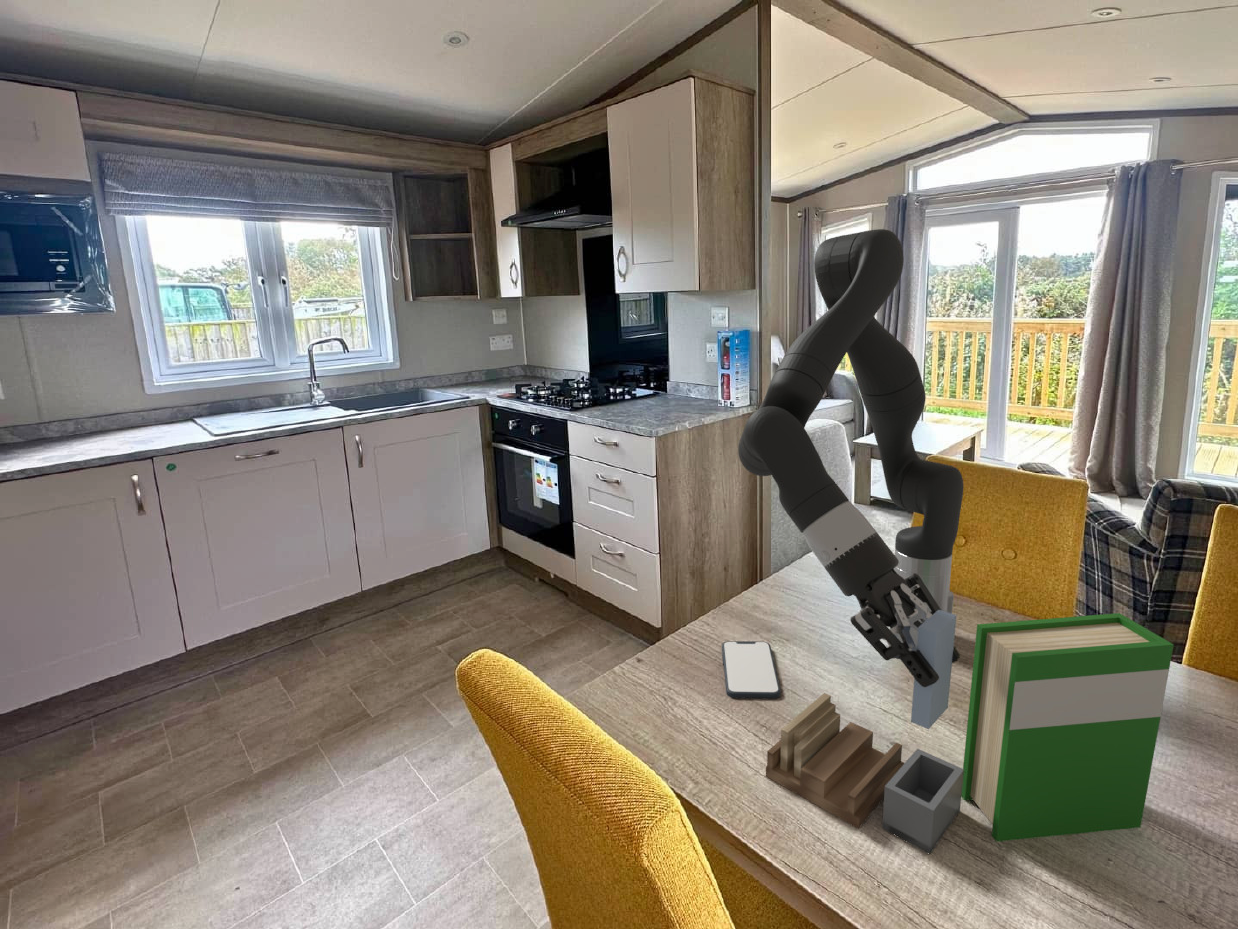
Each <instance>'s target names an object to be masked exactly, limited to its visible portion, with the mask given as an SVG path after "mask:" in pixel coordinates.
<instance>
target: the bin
mask: <svg viewBox="0 0 1238 929" xmlns="http://www.w3.org/2000/svg"><path fill="white" fill-rule="evenodd" d="M963 775H964V769H963V767H960V766H957V765H956V764H953V763H951V762H950V761H949V762H948V761H946V760H944V759H942V758H940V757H937V756H936V755H932V754H931V753H928V752H926V751H924V750H922V749H919V748H916V750H915V751H914V752H913V753H912V754H911V755H910V756H909V758H908V759H907V760H906V761H905V762H904V765H903V766H902V767H901V768H900V769H899V770H898V772H897V773H896V774H895V775H894V776H893V777H892V779H891V780H890V781H889V782H888V783H887V784H886V785H885V792H884V799H883V809H882V811H883V812H882V825H881V826H882V827H881V828H883V829H882V830H885V831H887V832H888V833H890V834H892V835H893V834H895V835H896V836H895V835H894V836H895V837H897V836H898V837H897V838H898V839H901V840H902V841H904V840H905V841H904V842H906V841H907V842H906V843H908V844H909V845H912V846H913V847H915V848H917V849H919V850H920V851H923V852H924V853H926V854H928V853H929V854H928V855H931V853H932V852H933V850H934V849H935V847H936V846H937V845H938V843H939V841H941V839H942V837H943V836H944V834H945V833H946V831H947V830H948V829H949V827H950V826H951V824H952V823H953V821H955V819H956V817H957V816H958V814H959V813H960V812H961V804H962V797H961V795H962V785H963Z"/></svg>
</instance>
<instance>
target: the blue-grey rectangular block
mask: <svg viewBox="0 0 1238 929" xmlns="http://www.w3.org/2000/svg"><path fill="white" fill-rule="evenodd" d="M956 624H957V614H953V613H952V614H951V613H947V612H944V611H941V610H938V611H937V612H935V613H934V614H933V615H932V616H931V617H930V618H928V619H927V620H926V621H925V622H924V623H923V624H922V625H920V626H919V627H918V638H917V650H918V649H919V651H920V652H921V653H922V655H923V656H924V657H925V659H926V660H927V661H928V663H929V664H930V665H931V667H932V668H933V669H934V670H935V671H936V673H937V674H938V676H939V680H938V681H937V682H936V683H934V684H932V685H930V686H927V687H922V686H921V685H920V684H919V683H918V682H917V681H916V680H915V678H914V677H913V679H914V680H913V692H912V701H911V702H912V703H911V704H912V706H911V717H910V723H912V724H914V725H917V726H920V727H922V728H924V729H926V730H930V729H931V727H932V726H933V725H934V724H935V723H936V722H937V721H938V720H939V718H940V717H941V716H942V715H944V712H945V711H946V710H947V709H948V708H949V699H950V691H951V679H952V668H953V667H952V666H953V663H952V656H953V648H954V647H955V636H956Z"/></svg>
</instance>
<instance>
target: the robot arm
mask: <svg viewBox="0 0 1238 929" xmlns="http://www.w3.org/2000/svg"><path fill="white" fill-rule="evenodd" d="M904 257H905V256H904V250H903V246H902V242H901V241H900V239H899V237H898V235H897V234H895V233H894V232H893V231H891V230H889V229H884V228H881V229H878V228H877V229H870V230H864V231H859V232H855V233H849V234H842V235H838V236H835V237H830V238H827V239H826V240H823V241H822V242H821V243H820V244H819V245H818V247H817V249H816V252H815V256H814V260H813V261H814V263H813V264H814V266H813V268H814V276H815V279H816V283H817V288H818V289H819V292H820V294H821V295H820V296H821V298H822V299H823V302H824V304H825V306H826V307H827V311H825V313H824V314H823V315H821V316H820V317H819V318H818V319H816V320H815V322H813V323H811V325H809V326H808V327H807V328H806V329H805V330H804V331H803V332H802V333H800V334H799V335H798V337H796V339H795V340H794V341H793V342H792V343H791V345H790V346H789V348H788V349H787V351H786V352H785V354H784V356H783V358H782V359H781V361H780V363H779V365H778V367H777V368H776V369H775V370H776V371H775V372H774V374H773V376H772V378H771V380H770V383H769V385H768V387H767V391H766V393H765V396H764V399H763V401H762V402H761V404H760V406H759V407H758V409H756V410H755V411H754V412H752V414H751V415H750V416H749V417H748V419H747V421H746V423H745V425H744V428H743V430H742V433H741V435H740V436H741V437H740V440H739V442H738V445H737V446H738V447H737V449H738V450H737V451H738V457H739V460H740V463H741V464H742V466H743V467H744V468H745V469H746V471H747V472H749V473H751V474H753V475H755V476H759V477H768V476H769V477H770V476H771V477H772V478H773V480H774V481H775V483H776V486H777V487H778V491H779V492H778V496H779V497H778V500H779V502H780V505H781V507H782V508H783V510H784V511H785V513H786V514H787V515H788V516H789V518H790V519H791V521H792V522H793V523H794V525H795V526H796V527H797V529H798V531H799V532H800V533H801V535H802V536H803V537H804V540H806V543H807V544H808V547H809V549H811V551H812V552H813V555H814V556H815V557H816V559H817V560H818V561H819V562H820V564H821V565H822V567H823V568H824V570H826V572H827V573H828V575H829V576H830V578H831V579H832V580H833V581H834V583H835V585H837V586H838V589H839V590H840V591H841V593H842V594H843V595H844V596H846V597H852V596H854V597H855V598H856V600H857V602H858V604H859V607H860V610H859V611H858V612H857V613H855V614H854V615H853V616H851V617H850V622H851V625H852V626H853V627H854V628H855V629H857V631H858V632H859V633H860V634H861V636H862V637H863V638H864V639H865V640H866V641H867V643H869V644H870V645H871V647H872V648H873V649H874V650H875V651H876V652H877V653H878V654H879V655H880V656H881V657H882V658H883V659H884V660H885V661H890V660H892V659H896V660H900V661H901V662H902V664H903V665H904V666H905V667H906V669H907V670H908V671H909V673H910V674H911V676H912V677H913V679H914V678H915V680H916V681H917V682H918V683H919V684H920V685H921V686H922V687H927V686H930V685H932V684H934V683H936V682H937V681H938V680H939V676H938V674H937V673H936V671H935V670H934V669H933V668H932V667H931V665H930V664H929V663H928V661H927V660H926V659H925V657H924V656H923V655H922V653H921V652H920V651H919V649H918V650H917V638H918V627H919V626H920V625H922V624H923V623H924V622H925V621H926V620H927V619H928V618H930V617H931V616H932V615H933V614H934V613H935V612H937V611H938V610H941V611H944V612H947V613H951V614H953V605H954V596H955V595H954V592H953V591H951V590H950V585H951V575H952V574H951V571H952V560H953V549H954V545H955V542H956V538H957V536H958V532H959V524H960V517H961V510H962V503H963V495H964V479H963V475H962V473H961V471H960V470H959V469H958V468H957V467H955V466H952V465H948V464H945V463H940V462H935V461H931V460H925V459H922V458H920V457H919V455H918V453H917V452H916V451H917V450H916V448H915V445H914V442H913V441H914V440H913V433H914V430H915V428H916V426H917V424H918V422H919V420H920V418H921V417H922V413H923V412H924V408H925V404H926V398H927V396H926V390H925V386H924V383H923V379H922V377H921V372H920V369H919V365H918V362H917V360H916V359H915V357H914V355H913V354H912V353H911V352H910V351H909V350H908V348H907V347H906V346H905V345H904V344H903V343H902V342H900V341H899V340H898V339H897V338H896V337H895V336H894V335H893V334H892V333H891V332H889V330H887V328H885V327H884V326H883V325H882V324H881V323H880V322H879V321H878V319H877V318H876V317H875V316H876V314H877V313H878V311H879V310H880V309H881V307H882V306H883V305H884V303H886V301H887V300H888V299H889V297H890V296H891V294H892V293H893V292H894V290H895V288H896V286H897V285H898V283H899V280H900V278H901V276H902V273H903V269H904V263H905V259H904ZM846 354H847V356H848V359H849V362H850V364H851V368H852V371H853V374H854V376H855V380H856V384H857V387H858V391H859V394H860V397H861V400H862V402H863V405H864V409H865V410H866V413H867V416H868V418H869V421H870V424H871V428H872V431H873V435H874V437H875V440H876V441H875V442H876V444H877V448H878V452H879V457H880V461H881V465H882V470H883V476H884V481H885V484H886V485H885V486H886V489H887V494H888V495H889V498H890V500H891V501H892V503H893V504H894V505H895V506H896V507H897V508H900V509H902V510H906V511H909V512H912V513H915V514H916V513H917V514H920V515H922V516H923V521H922V525H920V526H917V525H916V526H910V527H905V528H902V529H901V530H899V531H898V532H897V533H896V536H895V541H894V542H895V545H894V553H893V551H892V550H891V548H890V547H889V546H888V545H887V544H886V542H885V541H884V540H883V537H881V535H880V534H879V533H878V532H877V530H876V529H875V528H874V526H872V524H871V523H870V521H869V520H868V519H867V517H866V516H865V515H864V514H863V513H862V512H861V511H860V510H859V509H858V508H857V507H856V506H855V505H854V504H853V503H852V502H851V500H850V499H849V498H848V496H847V495H846V494H845V493H844V492H843V490H842V489H841V488H840V486H839V485H838V484H837V483H836V481H834V479H833V478H832V476H830V475H829V473H828V472H827V470H826V467H825V466H824V465H825V464H824V463H823V461H822V459H821V456H820V454H819V453H818V451H817V449H816V447H815V445H814V443H813V441H812V439H811V437H810V435H809V434H808V432H807V430H806V429H805V427H806V425H807V424H808V423H807V422H808V421H809V419H810V417H811V416H812V414H813V413H814V411H815V410H816V408H817V407H818V406H819V404H820V403H821V401H822V399H823V396H824V395H825V393H826V391H827V389H828V387H829V386H830V383H831V381H832V379H833V377H834V375H835V373H836V371H837V369H838V367H839V366H840V364H841V362H842V361H843V359H844V357H845V356H846ZM882 640H883V641H886V642H887V645H888V646H886V645H885V644H884V643H883V642H882ZM960 658H961V654H960V652H959V651H958V650H957V649H956V646H954V648H953V656H952V664H953V663H955V662H957V661H958V660H960Z"/></svg>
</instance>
